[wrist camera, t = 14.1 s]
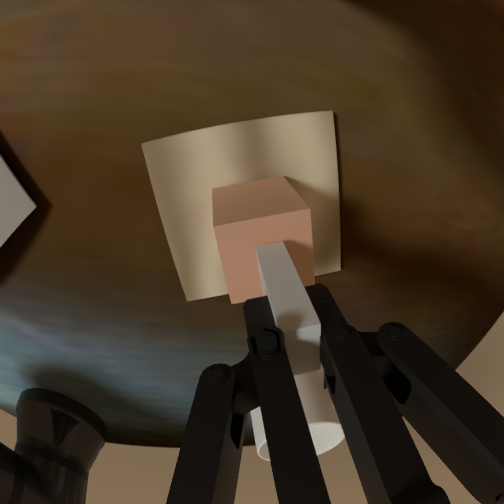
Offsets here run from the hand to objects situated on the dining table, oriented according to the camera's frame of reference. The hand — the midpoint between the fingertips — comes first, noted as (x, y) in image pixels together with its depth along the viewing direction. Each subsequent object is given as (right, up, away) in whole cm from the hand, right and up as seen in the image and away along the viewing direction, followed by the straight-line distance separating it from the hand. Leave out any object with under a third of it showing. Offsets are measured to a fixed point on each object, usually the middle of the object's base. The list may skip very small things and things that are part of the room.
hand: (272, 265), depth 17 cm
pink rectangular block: (-1, +4, +6) cm, 7 cm away
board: (-1, +4, +7) cm, 8 cm away
